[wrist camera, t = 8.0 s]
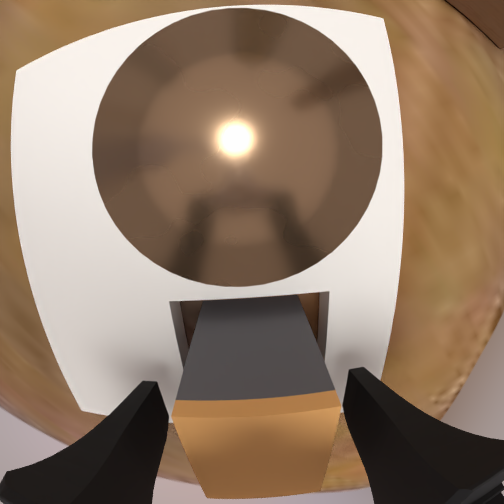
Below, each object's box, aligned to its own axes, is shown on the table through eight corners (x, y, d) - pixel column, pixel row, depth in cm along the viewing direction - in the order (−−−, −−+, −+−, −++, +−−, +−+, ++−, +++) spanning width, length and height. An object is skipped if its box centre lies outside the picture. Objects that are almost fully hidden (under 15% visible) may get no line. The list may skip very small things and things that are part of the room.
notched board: (90, 394, 14) (81, 410, 12) (34, 76, 9) (16, 70, 7) (364, 388, 14) (373, 405, 12) (369, 31, 9) (383, 18, 7)
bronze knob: (172, 234, 10) (111, 292, 5) (162, 93, 8) (96, 35, 4) (317, 225, 10) (380, 275, 5) (309, 83, 8) (364, 15, 4)
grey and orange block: (217, 387, 13) (207, 498, 7) (203, 300, 12) (171, 416, 6) (296, 381, 13) (320, 491, 7) (297, 294, 12) (341, 405, 6)
